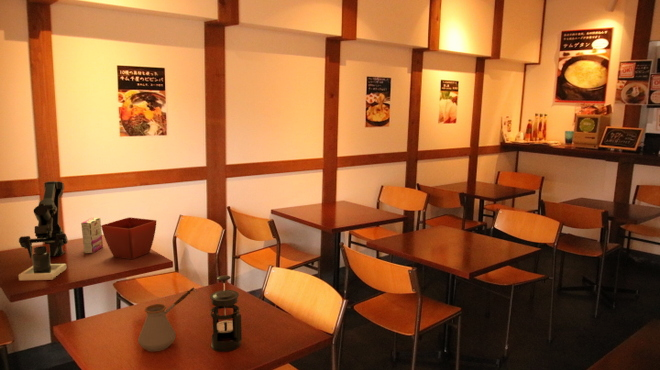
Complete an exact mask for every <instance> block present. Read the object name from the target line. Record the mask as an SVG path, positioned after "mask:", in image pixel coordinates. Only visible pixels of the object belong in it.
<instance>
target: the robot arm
mask: <svg viewBox="0 0 660 370" xmlns="http://www.w3.org/2000/svg"><path fill="white" fill-rule="evenodd" d="M43 185H44V193H43V194H44V195H43V199H42V200H40V201H39V202H38V205H37V206H35V207H34V209H33V213H34V216H35V219H36V220H37V221H38V223H37V225H35V226H34V234H35V238H31V237H30V235H24V236H23V235H22V236H19V238H18V243H19V244H20V247H21V248H24V249H25V250H26V249H27V251H28V256H29V258H30V259H32V256H33V246H32V245H33V244H35V243H44V245H48V247H49V254H50V257H61V256H62V255H64V254H65V253H66V250H65V251H64V250H63V246H65V245H67V244H68V237H67V234H66V233H64V231H63V228H62V227H61V226H60V200H61V197H62V196H63V195H64V191H65V183H64V182H63V181H61V180H60V181H56V180H55V181H54V180H51V181H46V182H44V184H43Z"/></svg>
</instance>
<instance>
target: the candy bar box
mask: <svg viewBox="0 0 660 370" xmlns="http://www.w3.org/2000/svg"><path fill="white" fill-rule="evenodd" d="M80 224H81V233H82V244H83V253H84V254H94V253H96V252H98V251H99V250H101V249H102V248H103V247H104V245H103V244H104V243H103V242H104V241H103V234H102V233H103V231H102V227H101V225H102V222H101V217H91V218H88V219H87V220H85V221H83V222H81V223H80Z"/></svg>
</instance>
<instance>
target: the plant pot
mask: <svg viewBox="0 0 660 370" xmlns="http://www.w3.org/2000/svg"><path fill="white" fill-rule="evenodd" d="M156 229H157V220H156V219H146V218H139V217H124V218H122V219H118V220H115V221H112V222H108V223H105V224H101V232H102V233H103V234H102V235H103V236H104V239H105V241H106V244H107V247H108V249H109V250H110V252H111V254H112V255H113V257H117V258H123V259H126V260H127V259H129V260H133V259H136V258H139V257H141V256H144V255H147V254H149V253H151V249H152V246H153V243H154V239H155V236H156V235H155V234H156Z"/></svg>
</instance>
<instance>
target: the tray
mask: <svg viewBox="0 0 660 370" xmlns="http://www.w3.org/2000/svg"><path fill="white" fill-rule="evenodd" d="M67 269H68V268H67V263H51V272H50V273H34V270H33V265H32V266H30V267H29V268H27V269H25V270H24V271H22V272H21V273H19V274H18V281H44V280H45V281H47V280H51V281H52V280H54V279H56V278H57V277H58V276H60V273H61V274H62V273H63V272H64V271H66V270H67ZM56 276H57V277H56Z"/></svg>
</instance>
